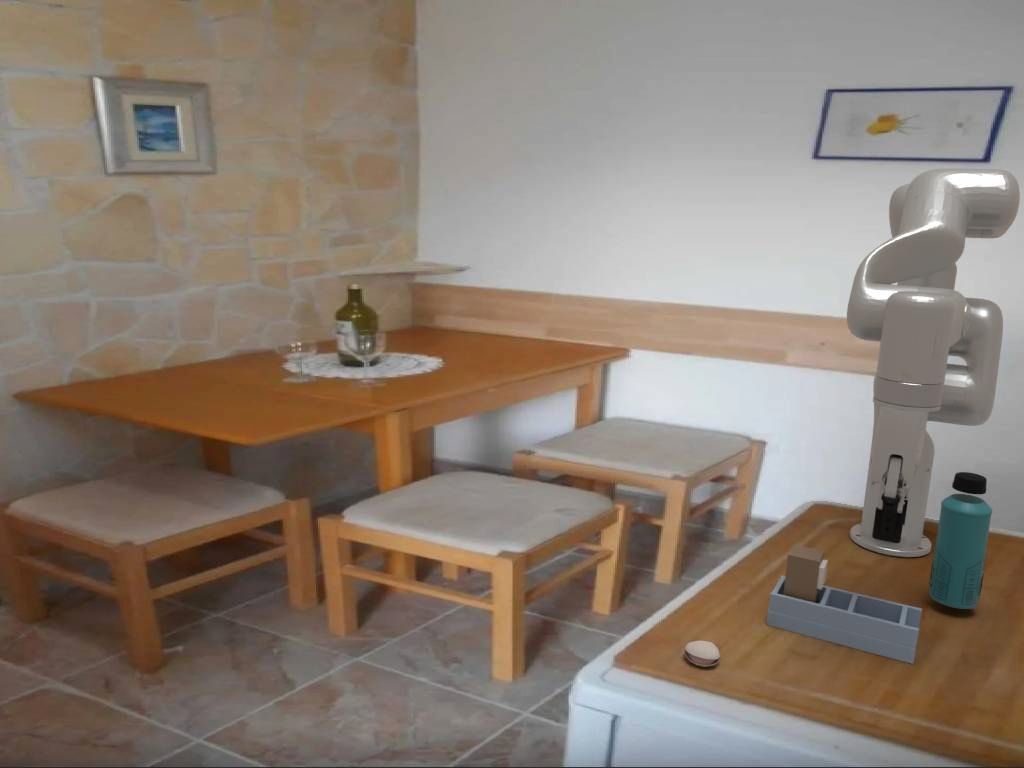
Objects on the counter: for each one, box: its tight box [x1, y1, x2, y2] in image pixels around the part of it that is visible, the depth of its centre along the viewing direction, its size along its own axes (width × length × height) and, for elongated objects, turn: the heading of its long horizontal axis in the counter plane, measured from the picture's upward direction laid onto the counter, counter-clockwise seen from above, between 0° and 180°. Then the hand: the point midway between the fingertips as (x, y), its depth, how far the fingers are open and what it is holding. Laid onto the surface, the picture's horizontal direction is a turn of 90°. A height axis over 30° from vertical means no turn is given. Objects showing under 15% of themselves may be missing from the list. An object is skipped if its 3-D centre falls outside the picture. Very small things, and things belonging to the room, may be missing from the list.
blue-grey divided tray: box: [766, 544, 923, 665], centre depth 108 cm, size 7×18×10 cm, turn 60°
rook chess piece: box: [869, 480, 909, 548], centre depth 103 cm, size 4×4×8 cm
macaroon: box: [684, 640, 721, 668], centre depth 102 cm, size 4×5×2 cm
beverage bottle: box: [928, 471, 993, 610], centre depth 115 cm, size 6×7×20 cm
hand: (888, 532), depth 104 cm, fingers closed on rook chess piece, 4 cm apart
